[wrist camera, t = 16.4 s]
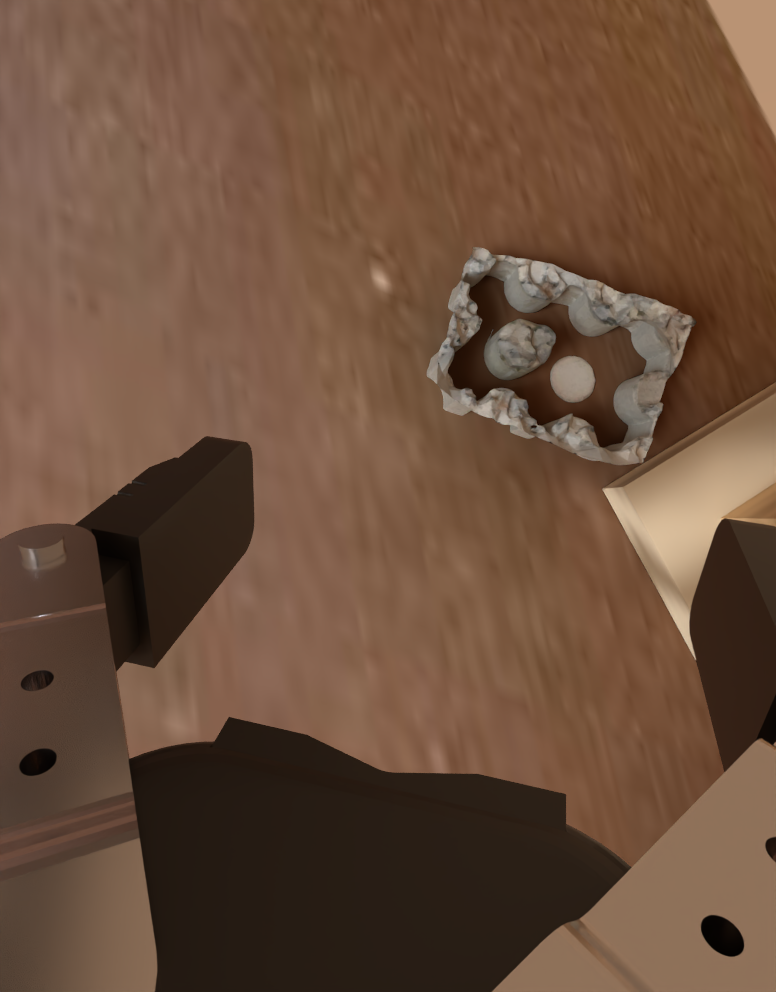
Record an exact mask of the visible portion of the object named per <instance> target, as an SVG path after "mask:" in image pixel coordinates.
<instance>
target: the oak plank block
mask: <svg viewBox="0 0 776 992" xmlns="http://www.w3.org/2000/svg"><path fill="white" fill-rule="evenodd" d="M724 518H727V519H733V520H740V521H746V522H753V523H759V524H765V525H772V526H775V527H776V483H774V484H773V485H771V486H770V487H768V488H767V489H765V490H763V491H762V492H760V493H759V494H757V495H756V496H754V497H753V498H751V499H749V500H748V501H746V502H745V503H743V504H742V505H740V506H739V507H737V508H736V509H734V510H732V511H731V512H729V513H728V514H726V515H725V516H723V517H722V518H721V520H723V519H724Z"/></svg>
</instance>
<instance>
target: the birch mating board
mask: <svg viewBox="0 0 776 992" xmlns="http://www.w3.org/2000/svg"><path fill="white" fill-rule="evenodd" d="M774 483H776V382H775V383H774V384H772V385H770V386H769V387H767V388H765V389H764V390H762V391H760V392H759V393H757V394H756V395H754V396H752V397H751V398H749V399H747V400H746V401H744V402H743V403H741V404H739V405H738V406H736V407H734V408H733V409H731V410H730V411H728V412H726V413H725V414H723V415H721V416H720V417H718V418H716V419H715V420H713V421H712V422H710V423H708V424H707V425H705V426H703V427H702V428H700V429H699V430H697V431H695V432H694V433H692V434H690V435H689V436H687V437H686V438H684V439H682V440H681V441H679V442H677V443H676V444H674V445H673V446H671V447H669V448H668V449H666V450H664V451H663V452H661V453H659V454H658V455H656V456H655V457H653V458H651V459H650V460H648V461H646V462H645V463H643V464H642V465H640V466H638V467H637V468H635V469H633V470H632V471H630V472H629V473H627V474H625V475H624V476H622V477H620V478H619V479H617V480H615V481H614V482H612V483H611V484H609V485H607V486H606V487H604V488H602V489H603V491H604V493H605V495H606V497H607V499H608V500H609V502H610V504H611V506H612V508H613V510H614V511H615V513H616V515H617V517H618V519H619V521H620V522H621V524H622V526H623V528H624V530H625V532H626V533H627V535H628V537H629V539H630V541H631V543H632V544H633V546H634V548H635V550H636V552H637V554H638V555H639V557H640V559H641V561H642V563H643V565H644V566H645V568H646V570H647V572H648V574H649V576H650V577H651V579H652V581H653V583H654V585H655V587H656V588H657V590H658V592H659V594H660V596H661V597H662V599H663V601H664V603H665V605H666V607H667V608H668V610H669V612H670V614H671V616H672V618H673V619H674V621H675V623H676V625H677V627H678V629H679V630H680V632H681V634H682V636H683V638H684V640H685V641H686V643H687V645H688V647H689V649H690V651H691V652H692V654H693V656H694V658H695V660H696V657H695V654H694V650H693V646H692V642H691V638H690V631H689V619H690V610H691V605H692V600H693V597H694V594H695V591H696V588H697V585H698V582H699V579H700V576H701V573H702V570H703V567H704V564H705V561H706V558H707V555H708V552H709V549H710V546H711V542H712V539H713V536H714V534H715V531H716V528H717V526H718V525H719V523H720V522H721V518H722V517H723V516H725V515H726V514H728V513H729V512H731V511H732V510H734V509H736V508H737V507H739V506H740V505H742V504H743V503H745V502H746V501H748V500H749V499H751V498H753V497H754V496H756V495H757V494H759V493H760V492H762V491H763V490H765V489H767V488H768V487H770V486H771V485H773V484H774ZM696 662H697V661H696Z"/></svg>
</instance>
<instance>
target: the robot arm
mask: <svg viewBox="0 0 776 992" xmlns="http://www.w3.org/2000/svg"><path fill="white" fill-rule="evenodd" d="M253 529H254V492H253V459H252V451H251V448H250V446H249V444H248V443H246V442H241V441H234V440H228V439H221V438H215V437H209V436H207V437H204V438H203V439H201V440H200V441H199V442H198V443H197V444H195V445H194V446H193V447H192V448H190V449H189V450H188V451H187V452H185V453H184V454H183V455H182V456H180V457H179V458H172V459H170V460H167V461H165V462H162V463H160V464H157V465H154V466H152V467H149V468H148V469H147V470H145V471H144V472H143V473H141V474H140V475H139V476H138V477H136V478H135V479H134V480H132V484H127V485H126V486H125V487H123V488H122V489H121V490H119V491H118V494H117V495H113V496H112V497H110V498H109V499H108V500H107V501H105V502H104V503H103V504H101V505H100V506H99V507H97V508H96V509H95V510H94V511H92V512H91V513H90V514H88V515H87V516H86V517H85V518H83V519H82V520H81V521H79V522H78V523H77V524H75V525H70V524H45V525H38V526H33V527H29V528H25V529H22V530H19V531H16V532H14V533H11V534H9V535H7V536H5V537H4V538H2V539H0V992H776V527H775V526H772V525H765V524H759V523H753V522H746V521H740V520H733V519H727V518H724V519H723V520H721V522H720V523H719V525H718V526H717V528H716V531H715V534H714V536H713V539H712V542H711V546H710V549H709V552H708V555H707V558H706V561H705V564H704V567H703V570H702V573H701V576H700V579H699V582H698V585H697V588H696V591H695V594H694V597H693V600H692V605H691V610H690V619H689V631H690V638H691V642H692V646H693V650H694V654H695V657H696V661H697V665H698V669H699V673H700V677H701V681H702V685H703V689H704V693H705V697H706V701H707V705H708V709H709V713H710V717H711V721H712V725H713V729H714V732H715V736H716V740H717V744H718V748H719V752H720V756H721V760H722V764H723V768H724V772H725V773H724V774H723V775H722V776H721V777H720V778H719V779H718V780H717V781H716V782H715V783H714V784H713V785H712V786H711V787H710V788H709V789H708V790H707V791H706V792H705V793H704V794H703V795H702V796H701V797H700V798H699V799H698V800H697V801H696V802H695V803H694V804H693V805H692V806H691V807H690V808H689V810H688V811H687V812H686V813H685V814H684V815H683V816H682V817H681V818H680V819H679V820H678V821H677V822H676V823H675V824H674V825H673V826H672V827H671V828H670V829H669V830H668V831H667V832H666V833H665V834H664V835H663V836H662V837H661V838H660V839H659V840H658V841H657V842H656V843H655V844H654V845H653V846H652V847H651V848H650V849H649V850H648V851H647V852H646V853H645V855H644V856H643V857H642V858H641V859H640V860H639V861H638V862H637V863H636V864H635V865H634V866H633V867H632V868H631V867H630V866H629V865H628V864H627V863H626V862H625V861H623V860H622V859H621V858H620V857H619V856H617V855H616V854H614V853H613V852H612V851H610V850H609V849H608V848H606V847H605V846H604V845H602V844H601V843H599V842H598V841H596V840H594V839H592V838H591V837H589V836H587V835H586V834H584V833H582V832H581V831H579V830H577V829H575V828H573V827H571V826H569V825H567V824H566V794H563V793H558V792H554V791H549V790H545V789H541V788H536V787H532V786H528V785H523V784H519V783H515V782H510V781H506V780H501V779H497V778H493V777H488V776H484V775H480V774H441V773H392V772H385V771H381V770H379V769H376V768H374V767H372V766H370V765H368V764H366V763H364V762H362V761H360V760H358V759H356V758H354V757H351V756H349V755H347V754H345V753H343V752H341V751H339V750H337V749H335V748H333V747H331V746H329V745H327V744H325V743H322V742H320V741H318V740H316V739H314V738H312V737H310V736H308V735H305V734H301V733H296V732H292V731H288V730H283V729H279V728H275V727H270V726H266V725H261V724H257V723H253V722H248V721H244V720H240V719H235V718H231V717H229V718H228V720H227V721H226V723H225V725H224V726H223V728H222V730H221V731H220V733H219V735H218V737H217V738H216V740H215V742H196V743H186V744H180V745H175V746H169V747H164V748H161V749H157V750H154V751H150V752H147V753H144V754H141V755H139V756H136V757H133V758H131V759H129V752H128V746H127V739H126V732H125V726H124V719H123V712H122V706H121V699H120V692H119V686H118V679H117V673H116V671H117V670H118V669H119V668H120V667H121V666H122V664H123V663H124V662H129V663H134V664H138V665H143V666H147V667H152V668H155V667H156V665H157V664H158V663H159V661H160V660H161V659H162V658H163V656H164V655H165V654H166V653H167V651H168V650H169V649H170V648H171V646H172V645H173V644H174V642H175V641H176V640H177V639H178V637H179V636H180V635H181V634H182V632H183V631H184V630H185V628H186V627H187V626H188V625H189V623H190V622H191V621H192V620H193V618H194V617H195V616H196V615H197V613H198V612H199V611H200V609H201V608H202V607H203V606H204V604H205V603H206V602H207V601H208V599H209V598H210V597H211V595H212V594H213V593H214V592H215V590H216V589H217V588H218V587H219V585H220V584H221V583H222V582H223V580H224V579H225V578H226V576H227V575H228V574H229V573H230V571H231V570H232V569H233V568H234V566H235V565H236V564H237V562H238V561H239V560H240V559H241V557H242V556H243V555H244V554H245V552H246V551H247V549H248V547H249V544H250V541H251V538H252V534H253Z"/></svg>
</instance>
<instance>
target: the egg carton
mask: <svg viewBox="0 0 776 992" xmlns="http://www.w3.org/2000/svg"><path fill="white" fill-rule="evenodd" d="M485 275H487V276H492V277H495V278H498V279H500V280H501V281H503V282H504V292H505V295H506V298H507V300H508V302H509V304H510V305H511V306H512V307H514V308H515V309H516V310H518V311H520V312H524V313H533V312H538V311H539V310H541V309H542V308H544V307H545V306H547V305H548V304H549V303H551V302H552V303H558V304H564V305H567V306H569V318H570V321H571V323H572V325H573V326H574V327H575V329H576V330H577V331H578V332H579V333H581V334H583V335H585V336H590V337H592V336H599V335H603V334H605V333H607V332H608V331H610V330H612V329H614V328H616V327H618V326H622V327H624V328H626V329H628V330H629V331H630V332H631V339H632V343H633V346H634V348H635V349H636V351H637V352H638V353H639V354H640V355H641V356H642V357H643V358H644V359H646V361H647V363H646V367H645V370H644V373H643V374H642V375H639V376H637V377H634V378H631V379H628V380H626V381H624V382H623V383H621V384H620V385H619V386H618V388H617V389H616V391H615V395H614V409H615V412H616V414H617V415H618V417H619V418H620V419H621V420H622V421H623V422H624V423H626V424H627V425H628V431H627V433H626V436H625V438H624V441H623V443H619V444H613V445H610V446H607V447H605V448H602V447H600V446H599V444H598V442H597V438H596V434H595V432H594V426H591V425H589V423H588V422H587V421H585V420H583V419H581V418H577V417H574V416H573V414H572V413H571V414H569V415H567V416H565V417H563V418H560V419H558V420H555V421H552V422H549V423H546V424H544V425H542V426H540V425H537V420H536V419H534V418H532V417H530V415H529V413H528V411H527V410H528V404H527V401H526V400H524V399H521V398H519V397H518V396H517V395H516V394H515V393H514V392H513V391H512V390H511V389H507V388H496V389H492V390H491V391H490V392H489V393H488V394H487V395H486V396H485V397H483V398H481V399H479V400H478V401H476V396H475V395H474V394H473V392H472V389H469V388H464V389H462V390H461V389H457V388H455V386H454V385H453V380H452V378H451V377H450V376H449V374H448V368H449V366H450V364H451V362H452V361H453V358H454V355H455V354H454V352H456V351H457V350H459V349H460V348H461V347H462V346H463V345H465V344H466V343H467V342H468V341H469V340H470V339H471V337H472V336H473V335H474V334H475V333H476V332H477V331H478V330H479V329H480V325H481V322H482V319H481V318H480V317H479V316H477V308H478V307H477V304H476V303H475V302H474V301H473V300H471V299H470V297H469V291H470V287H473V286H474V285H476V284H477V283H478V282H479V281H480V280H481V279H482V278H483V277H484V276H485ZM448 308H449V309H450V310H451V311H453V312H454V314H453V316H452V318H451V321H450V324H449V328H448V333H447V338H446V340H445V341H444V342H443V343H442V346H441V348H440V350H439V352H438V353H437V354H435V355H434V356H433V357H432V358H431V361H430V364H429V367H428V370H427V377H429V378H430V379H432V380H433V381H434V382H435V383H437V385H438V386H439V387H440V389H441V391H442V394H443V402H444V404H443V409H444V410H446V411H449V412H452V413H455V414H458V415H464V414H466V413H468V412H470V411H471V410H472V411H473V412H475V413H477V414H480V415H482V416H484V417H488V418H493V419H494V420H495V421H496V422H498V423H501V424H503V425H510V432H511V433H513V434H515V435H518V436H521V437H524V438H528V439H529V438H533V437H538V438H540V439H543V440H545V441H548V442H550V443H552V444H554V445H557V446H559V447H561V448H563V449H565V450H567V451H569V452H571V453H574V454H576V455H578V456H580V457H582V458H585V459H588V460H592V461H598V460H599V461H602V462H606V463H610V464H614V465H629V464H635V463H643V462H644V459H645V457H646V454H647V451H648V449H649V447H650V445H651V443H652V440H653V437H652V434H653V430H654V427H655V424H656V421H657V419H658V417H659V415H660V413H661V412H662V409H663V403H659V402H660V400H661V397H662V394H663V391H664V387H665V383H666V381H667V379H668V378H669V377H670V376H671V375H672V373H673V372H674V371H675V369H676V367H677V366H678V364H679V361H680V359H681V357H682V354H683V351H684V347H685V343H686V341H687V338H688V336H689V333H690V330H691V328H692V326H693V327H694V325H695V324H696V320H695V319H693V318H692V317H691V316H689V315H686V314H682V313H680V311H679V310H678V309H676V308H673V307H671V306H667V305H664V304H662V303H660V302H658V301H657V300H654V299H650V298H648V297H644V296H641V295H637V294H624V293H621V292H618V291H616V290H614V289H612V288H610V287H608V286H607V285H605V284H604V283H601V282H599V281H597V280H588V279H585V278H583V277H580V276H578V275H576V274H573V273H570V272H567V271H565V270H563V269H561V268H559V267H557V266H555V265H554V264H550V263H544V262H539V261H534V260H529V259H522V258H514V257H511V256H506V255H492V254H491V253H490V252H489V251H488V250H486V249H483V248H477V247H473V252H472V254H471V256H470V258H469V260H468V261H467V262H466V264H465V267H464V270H463V273H462V278H461V281H460V283H459V284H458V285H457V286H456V287H455V288H454V289H453V291H452V294H451V297H450V300H449V304H448ZM492 331H493V330H492ZM490 336H491V335H490ZM489 338H490V337H489ZM555 339H556V335H555V333H554V331H553V330H552V329H551V328H550V327H548V326H546V325H539V324H535V323H533V322H530V321H527V320H524V319H517V320H515V321H512V322H510V323H508V324H506V325H505V326H504V327H502V328H501V329H500V330H499V331H498V332H497V333H495V334H494V335H493V336H492V337H491V338H490V339H489V340H488V342H487V343H486V345H485V349H484V360H485V363H486V366H487V368H488V370H489V371H490V372H491V373H492V374H493V375H494V376H495V377H497V378H499V379H502V380H513V379H516V378H519V377H521V376H523V375H525V374H527V373H529V372H531V371H532V370H534V369H536V368H537V367H539V366H540V365H542V364H544V363H545V362H546V360H547V359H548V357H549V356H550V353H551V350H552V347H553V345H554V344H555ZM550 381H551V386H552V388H553V390H554V392H555V393H556V394H557V395H558V396H559V397H560V398H561V399H562V400H564V401H566V402H571V403H574V402H580V401H582V400H584V399H586V398H588V397H589V396H590V395H591V393H592V392H593V389H594V386H595V381H596V380H595V378H594V372H593V369H592V367H591V366H590V365H589V363H588V362H587V361H585V360H584V359H582V358H581V357H576V356H567V357H563V358H561V359H560V360H558V361H557V362H556V363H555V364H554V366H553V368H552V369H551V374H550ZM532 425H535V426H537V427H536V428H531V426H532Z"/></svg>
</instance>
